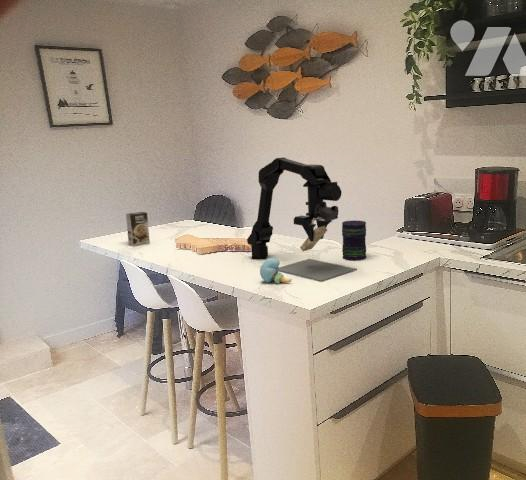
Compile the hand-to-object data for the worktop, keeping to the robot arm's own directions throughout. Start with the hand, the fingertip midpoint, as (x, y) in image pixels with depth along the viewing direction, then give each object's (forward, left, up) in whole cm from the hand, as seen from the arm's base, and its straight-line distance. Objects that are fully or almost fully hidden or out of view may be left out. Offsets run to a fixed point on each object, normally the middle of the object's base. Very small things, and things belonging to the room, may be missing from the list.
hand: (316, 240), depth 193 cm
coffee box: (-88, +60, -12) cm, 107 cm away
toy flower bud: (-15, -14, -12) cm, 24 cm away
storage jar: (+16, +18, -12) cm, 27 cm away
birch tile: (-4, +4, -4) cm, 7 cm away
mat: (-1, +1, -12) cm, 12 cm away
